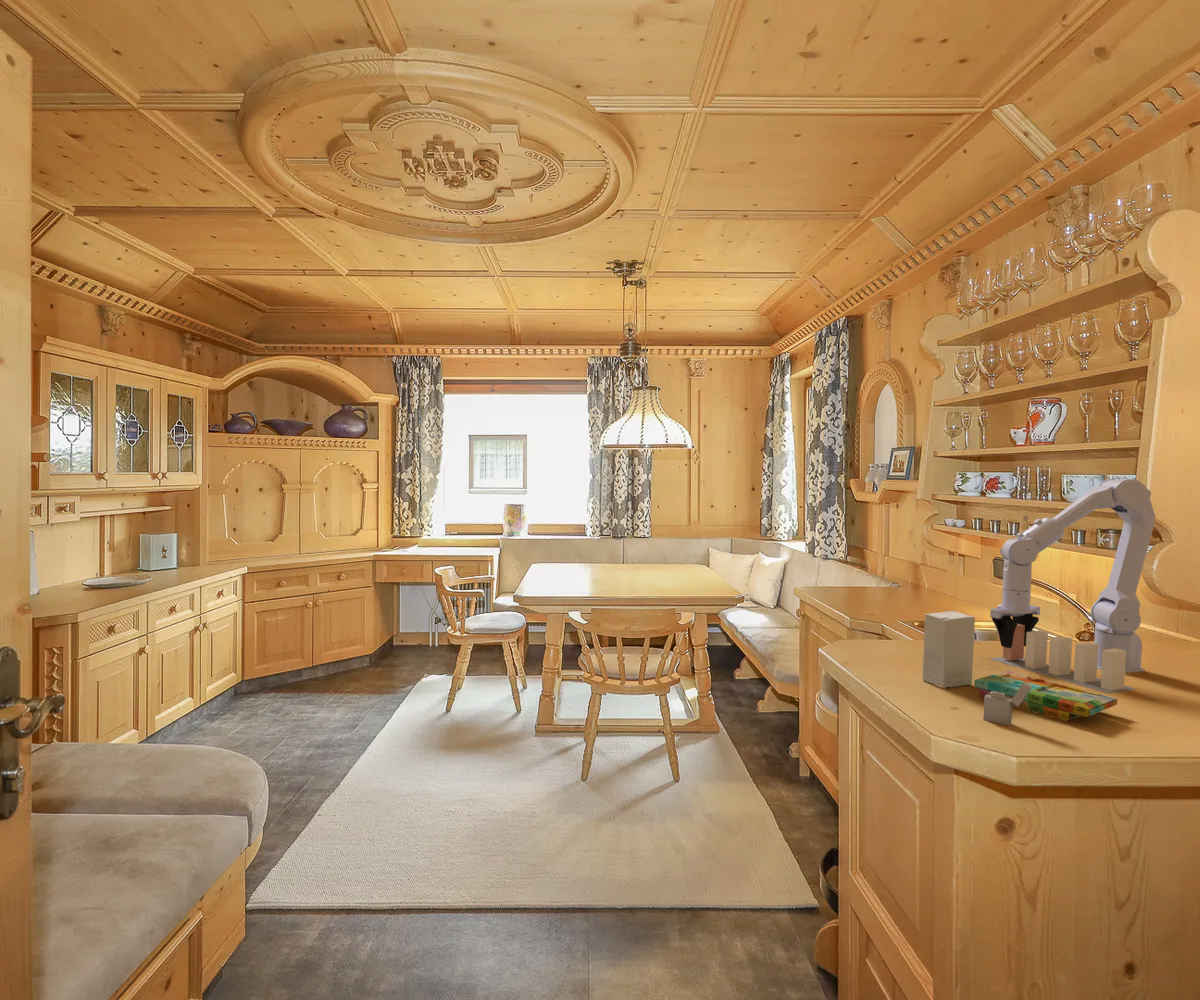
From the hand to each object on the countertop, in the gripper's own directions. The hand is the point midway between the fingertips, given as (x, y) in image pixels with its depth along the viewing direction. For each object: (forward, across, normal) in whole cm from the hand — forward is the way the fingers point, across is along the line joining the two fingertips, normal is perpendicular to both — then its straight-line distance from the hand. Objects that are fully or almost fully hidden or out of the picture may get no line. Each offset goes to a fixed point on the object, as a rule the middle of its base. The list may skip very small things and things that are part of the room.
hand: (1013, 646), depth 163 cm
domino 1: (+3, 0, 0) cm, 3 cm away
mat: (+4, 0, +10) cm, 11 cm away
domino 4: (+3, 0, +16) cm, 17 cm away
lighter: (+4, +40, +28) cm, 49 cm away
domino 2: (+3, 0, +6) cm, 6 cm away
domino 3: (+3, 0, +11) cm, 12 cm away
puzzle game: (+4, +25, +24) cm, 35 cm away
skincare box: (+4, +30, +7) cm, 31 cm away
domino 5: (+3, 0, +22) cm, 22 cm away
